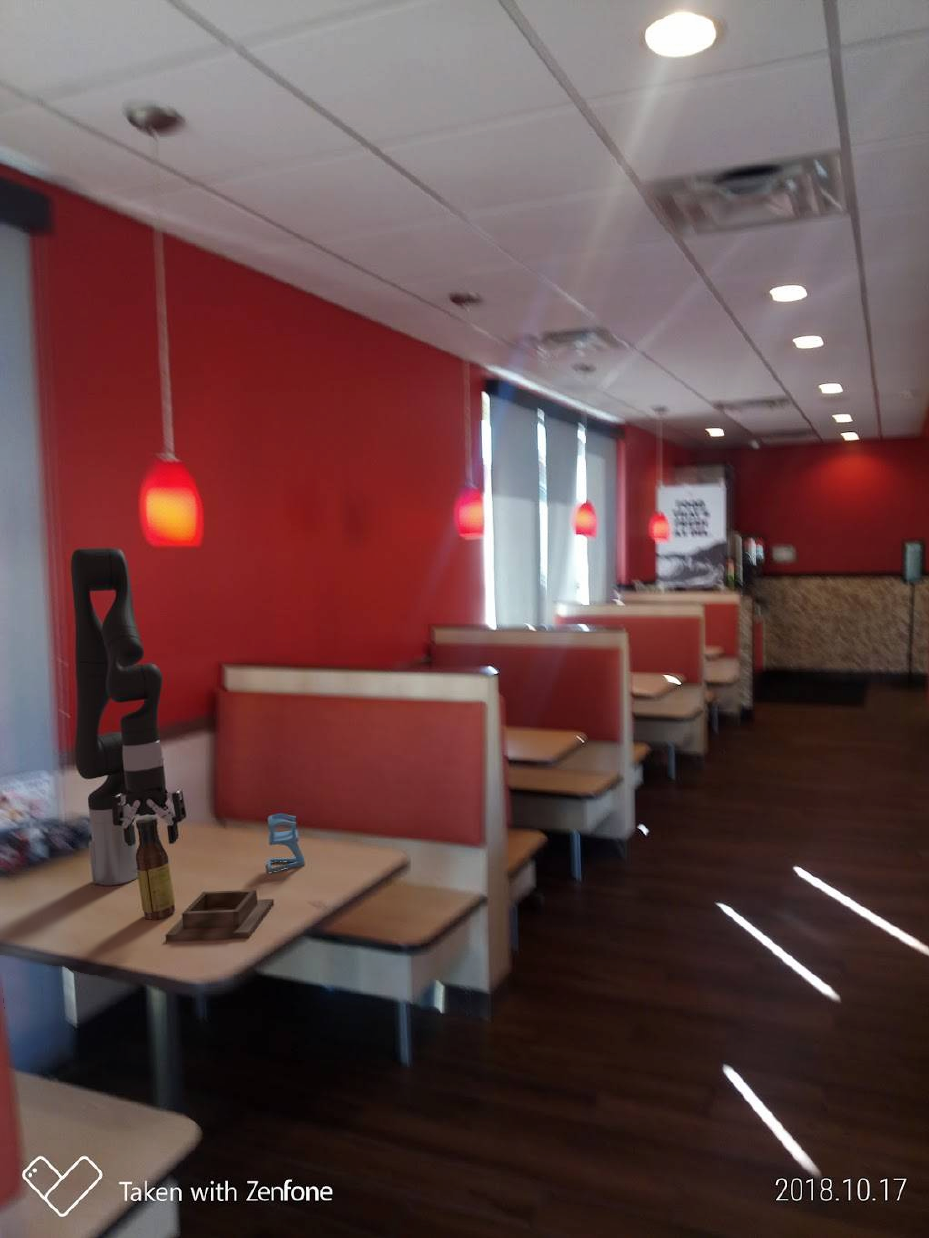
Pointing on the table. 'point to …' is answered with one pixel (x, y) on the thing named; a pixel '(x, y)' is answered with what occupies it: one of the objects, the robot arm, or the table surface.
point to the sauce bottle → (153, 871)
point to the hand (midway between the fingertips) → (152, 843)
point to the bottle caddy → (221, 916)
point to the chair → (284, 841)
